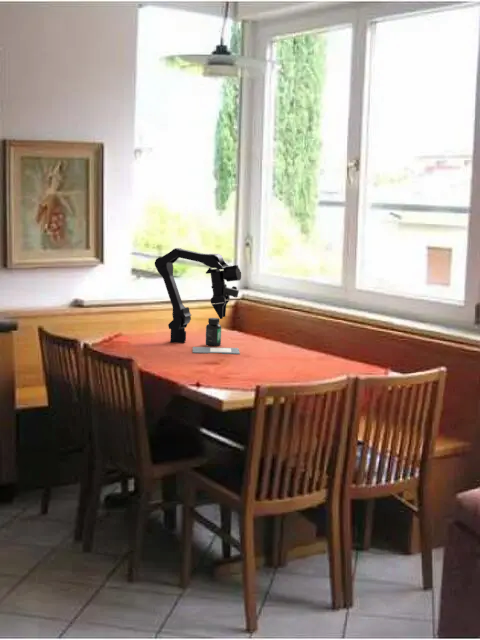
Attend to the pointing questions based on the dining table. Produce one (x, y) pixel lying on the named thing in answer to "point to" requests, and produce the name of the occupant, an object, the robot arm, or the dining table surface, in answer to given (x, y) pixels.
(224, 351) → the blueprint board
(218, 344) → the supplement bottle
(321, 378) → the dining table surface
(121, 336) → the dining table surface
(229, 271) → the robot arm
